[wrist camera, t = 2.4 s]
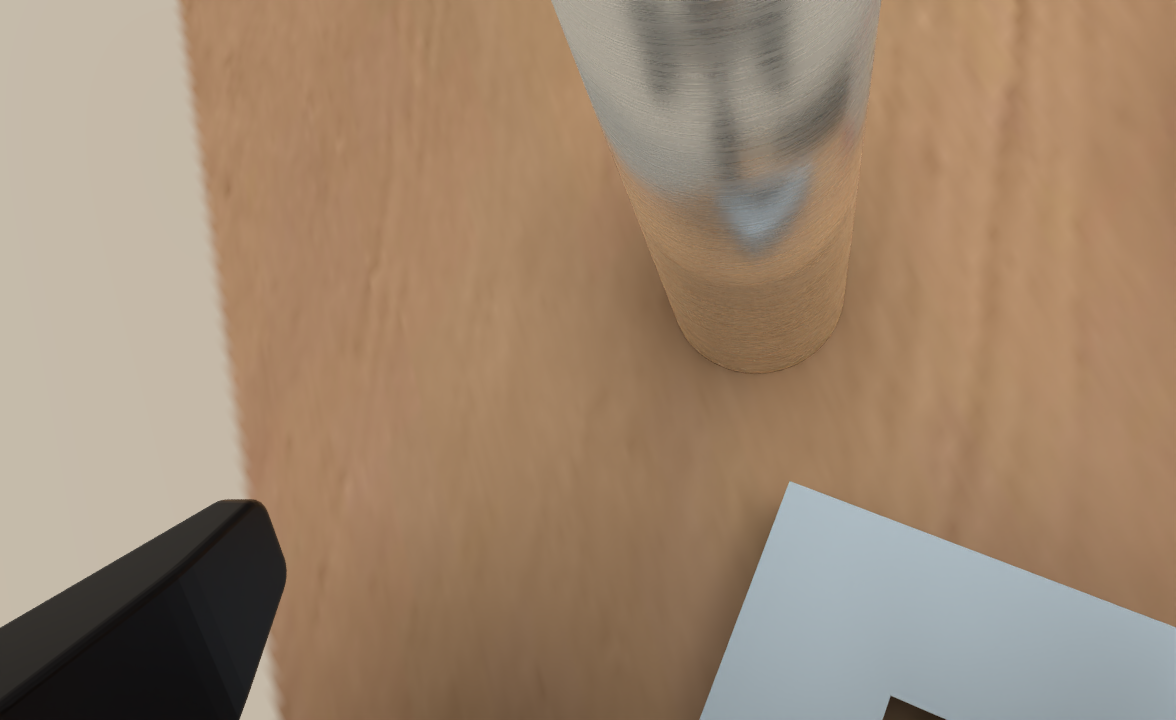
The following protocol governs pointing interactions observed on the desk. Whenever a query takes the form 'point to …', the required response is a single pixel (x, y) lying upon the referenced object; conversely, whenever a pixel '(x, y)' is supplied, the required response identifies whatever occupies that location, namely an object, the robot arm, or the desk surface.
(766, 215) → the silver tall cylinder
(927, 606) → the bracket block
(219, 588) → the robot arm
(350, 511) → the desk surface
